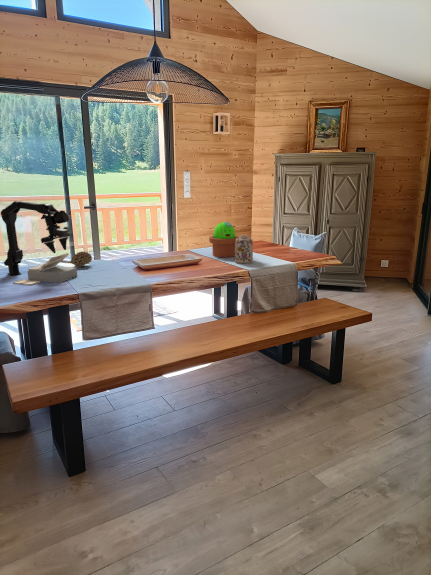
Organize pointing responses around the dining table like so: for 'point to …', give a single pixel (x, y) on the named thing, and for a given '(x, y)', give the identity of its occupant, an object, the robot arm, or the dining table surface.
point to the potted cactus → (223, 240)
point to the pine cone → (80, 259)
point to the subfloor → (52, 273)
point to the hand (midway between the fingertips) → (60, 251)
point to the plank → (26, 282)
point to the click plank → (53, 261)
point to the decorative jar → (243, 249)
